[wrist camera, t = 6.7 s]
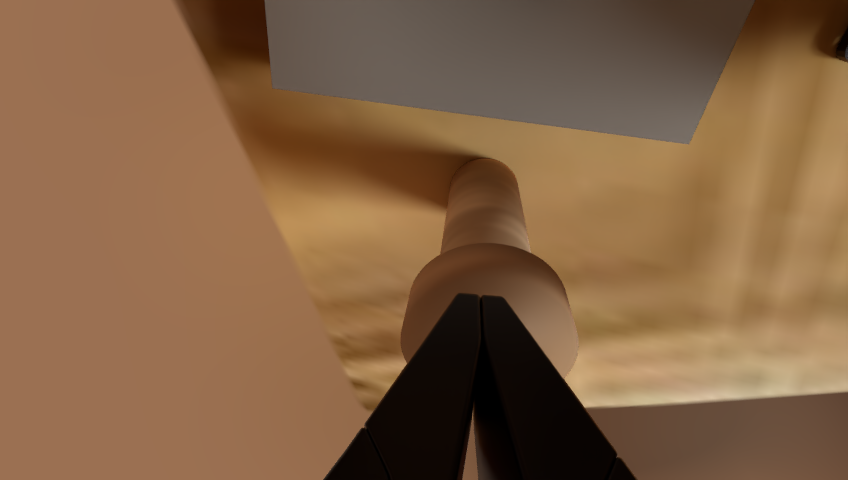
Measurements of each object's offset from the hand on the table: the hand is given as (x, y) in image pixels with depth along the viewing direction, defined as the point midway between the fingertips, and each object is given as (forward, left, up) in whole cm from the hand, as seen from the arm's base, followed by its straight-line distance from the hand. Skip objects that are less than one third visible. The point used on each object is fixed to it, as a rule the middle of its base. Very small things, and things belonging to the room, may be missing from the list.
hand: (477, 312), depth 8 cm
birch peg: (-1, +3, -11) cm, 11 cm away
